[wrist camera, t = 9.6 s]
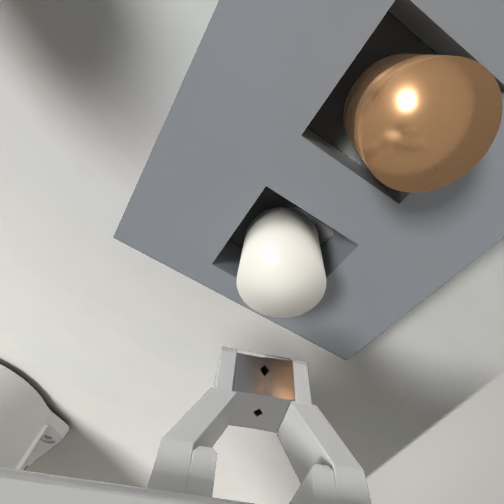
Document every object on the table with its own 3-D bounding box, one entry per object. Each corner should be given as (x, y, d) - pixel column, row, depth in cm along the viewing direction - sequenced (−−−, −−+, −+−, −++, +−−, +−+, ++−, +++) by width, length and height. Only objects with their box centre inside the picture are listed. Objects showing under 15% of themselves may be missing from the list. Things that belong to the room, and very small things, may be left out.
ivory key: (289, 281, 19) (291, 329, 16) (231, 248, 18) (220, 292, 15) (333, 232, 17) (345, 276, 14) (271, 193, 16) (268, 229, 13)
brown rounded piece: (393, 176, 15) (425, 213, 11) (323, 125, 14) (335, 150, 11) (469, 94, 13) (533, 110, 9) (393, 29, 12) (435, 21, 9)
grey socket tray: (339, 325, 23) (346, 360, 20) (135, 212, 19) (113, 237, 17) (811, -90, 11) (970, -131, 8) (505, -577, 7) (620, -897, 5)
